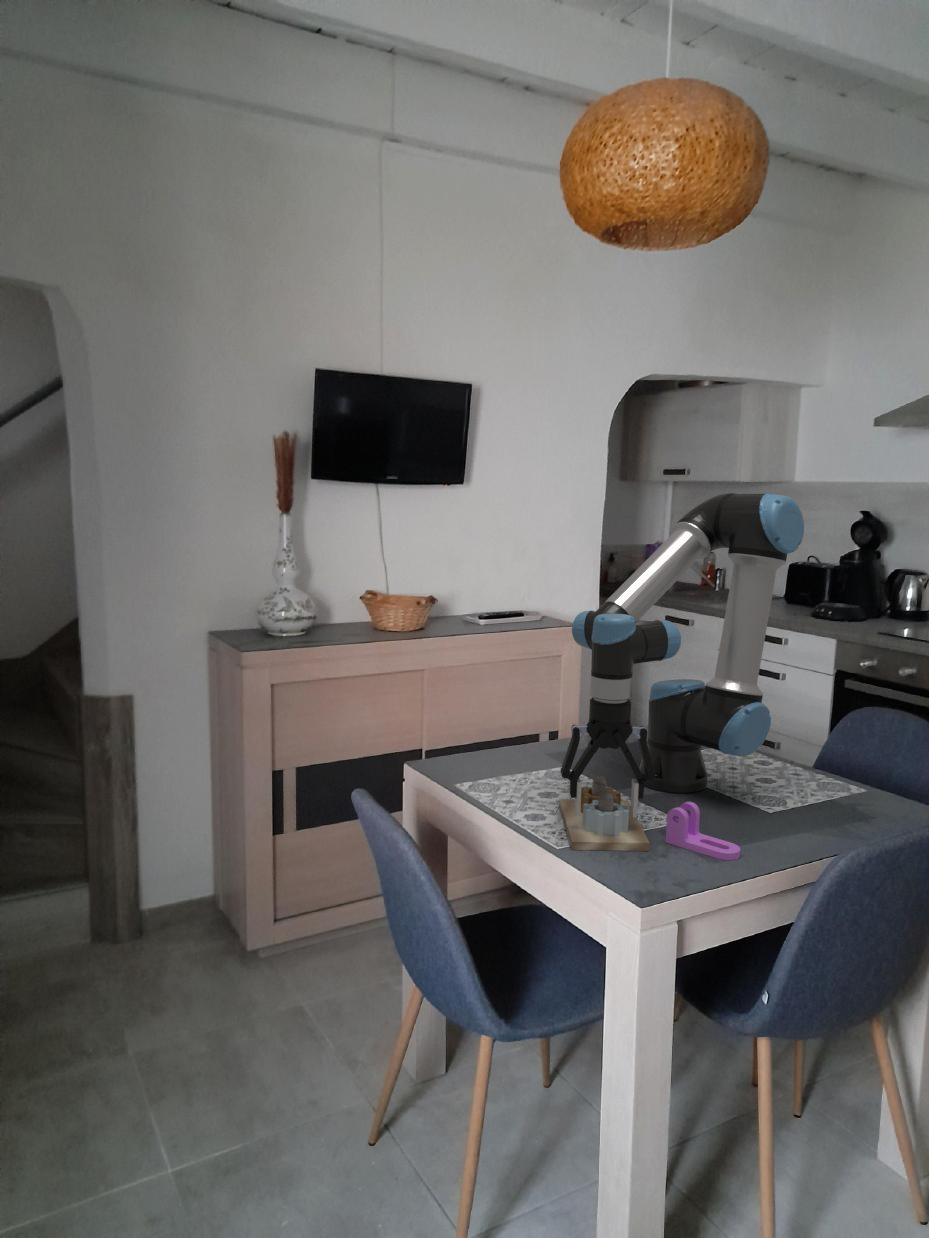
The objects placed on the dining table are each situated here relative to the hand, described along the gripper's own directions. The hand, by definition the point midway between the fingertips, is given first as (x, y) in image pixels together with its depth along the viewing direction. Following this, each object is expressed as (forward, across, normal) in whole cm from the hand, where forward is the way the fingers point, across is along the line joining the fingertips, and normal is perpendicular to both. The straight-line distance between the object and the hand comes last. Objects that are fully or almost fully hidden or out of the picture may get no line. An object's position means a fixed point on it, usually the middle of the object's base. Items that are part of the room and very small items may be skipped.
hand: (605, 814), depth 166 cm
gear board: (+4, 0, -4) cm, 6 cm away
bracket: (+5, -18, +5) cm, 19 cm away
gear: (+3, 0, 0) cm, 3 cm away
